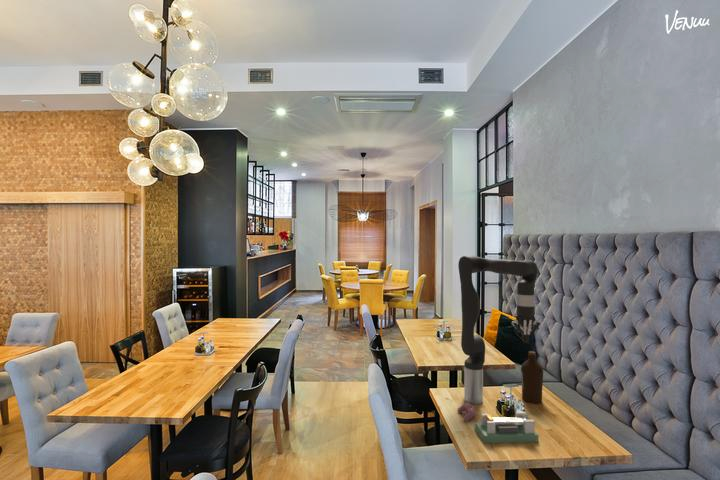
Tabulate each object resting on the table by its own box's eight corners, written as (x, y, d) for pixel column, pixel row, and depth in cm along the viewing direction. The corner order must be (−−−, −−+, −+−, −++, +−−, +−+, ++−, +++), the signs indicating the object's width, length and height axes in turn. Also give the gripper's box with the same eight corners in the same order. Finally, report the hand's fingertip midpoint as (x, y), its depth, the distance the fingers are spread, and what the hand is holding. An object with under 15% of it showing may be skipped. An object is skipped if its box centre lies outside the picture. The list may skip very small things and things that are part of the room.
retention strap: (485, 420, 159) (486, 414, 159) (524, 420, 159) (524, 414, 159) (490, 425, 154) (490, 419, 154) (529, 426, 155) (529, 420, 155)
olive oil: (544, 398, 193) (544, 351, 194) (541, 406, 185) (541, 356, 185) (523, 393, 200) (523, 347, 200) (518, 400, 191) (519, 352, 191)
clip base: (475, 429, 162) (475, 411, 162) (525, 428, 163) (525, 410, 163) (484, 442, 151) (484, 423, 151) (538, 442, 152) (538, 422, 152)
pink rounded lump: (471, 425, 168) (478, 411, 168) (462, 420, 168) (469, 407, 168) (464, 414, 178) (471, 402, 178) (456, 410, 178) (463, 397, 178)
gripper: (535, 302, 171) (535, 340, 171) (507, 303, 170) (507, 340, 170) (544, 305, 163) (544, 344, 163) (515, 305, 163) (515, 344, 163)
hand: (525, 342), depth 167 cm, fingers closed
